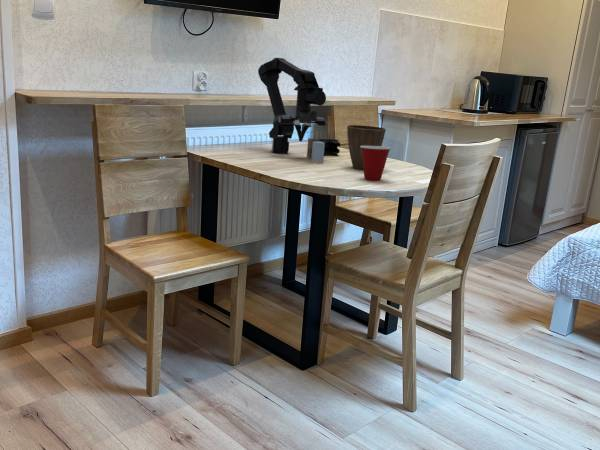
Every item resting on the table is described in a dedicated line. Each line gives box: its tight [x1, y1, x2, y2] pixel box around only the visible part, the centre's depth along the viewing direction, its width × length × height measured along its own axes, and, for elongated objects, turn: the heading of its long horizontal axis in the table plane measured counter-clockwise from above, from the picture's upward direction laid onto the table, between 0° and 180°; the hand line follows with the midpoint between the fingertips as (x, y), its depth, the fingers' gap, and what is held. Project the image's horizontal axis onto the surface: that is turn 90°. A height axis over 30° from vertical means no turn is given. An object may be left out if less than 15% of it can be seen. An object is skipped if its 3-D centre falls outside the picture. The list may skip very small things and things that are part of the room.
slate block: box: [310, 141, 325, 164], centre depth 237 cm, size 4×4×8 cm
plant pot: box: [346, 124, 387, 171], centre depth 230 cm, size 15×15×16 cm
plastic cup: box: [360, 145, 392, 182], centre depth 209 cm, size 11×11×12 cm
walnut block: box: [306, 137, 320, 160], centre depth 246 cm, size 4×4×8 cm
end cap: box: [318, 138, 341, 157], centre depth 259 cm, size 10×7×7 cm
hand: (300, 141), depth 244 cm, fingers closed
